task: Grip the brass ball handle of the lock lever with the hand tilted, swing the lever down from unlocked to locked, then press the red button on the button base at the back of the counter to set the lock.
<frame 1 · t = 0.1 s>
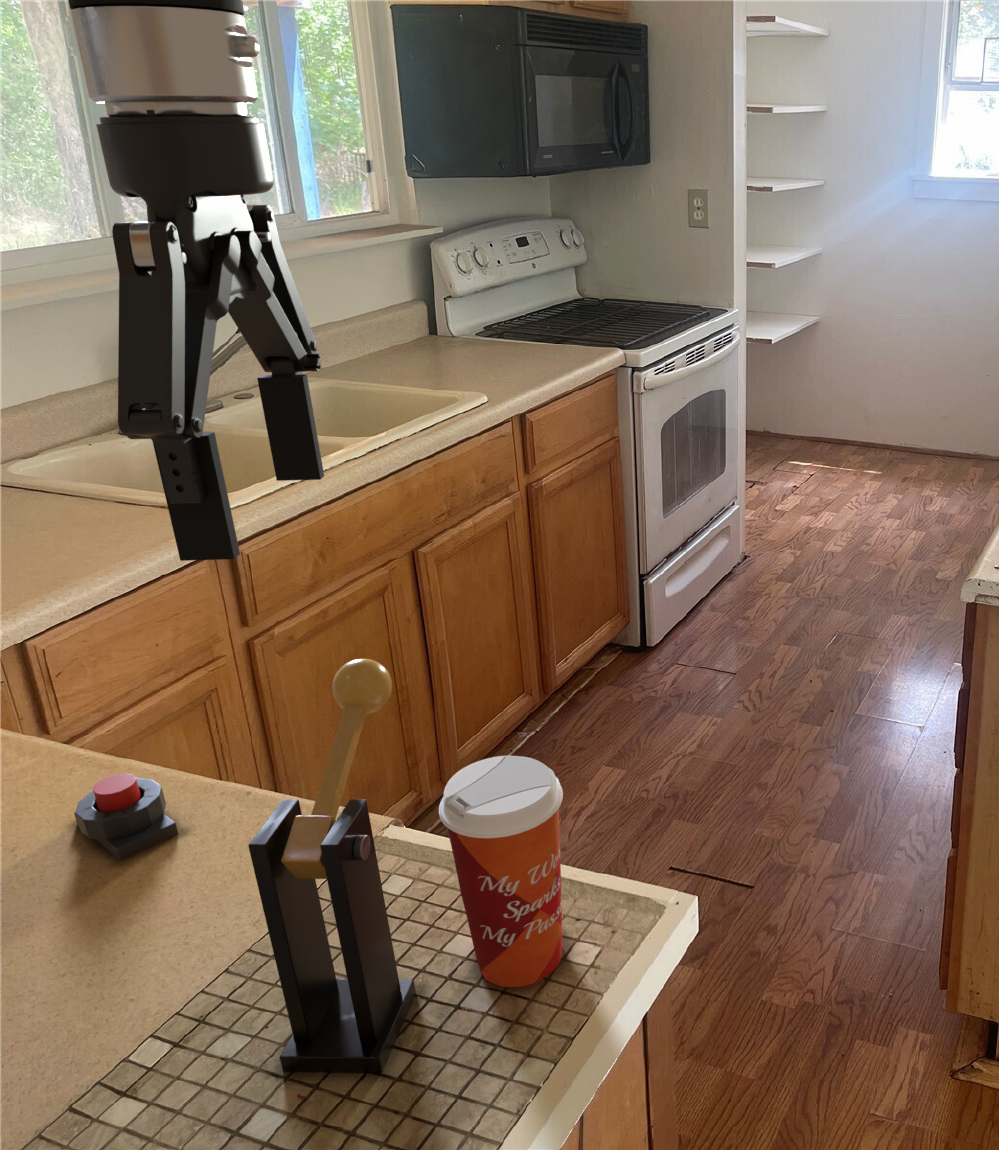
hand: (260, 514, 62), 32 cm above the countertop, tool pointing down, fingers open, 13 cm apart
lock lever: (340, 759, 65), point 17 cm above the countertop, hinge at 28.0°
paper cup: (522, 960, 73), on the countertop
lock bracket: (352, 1032, 67), on the countertop
button base: (127, 830, 87), on the countertop
set button: (117, 793, 86), point 4 cm above the countertop, slide at 0.2 cm
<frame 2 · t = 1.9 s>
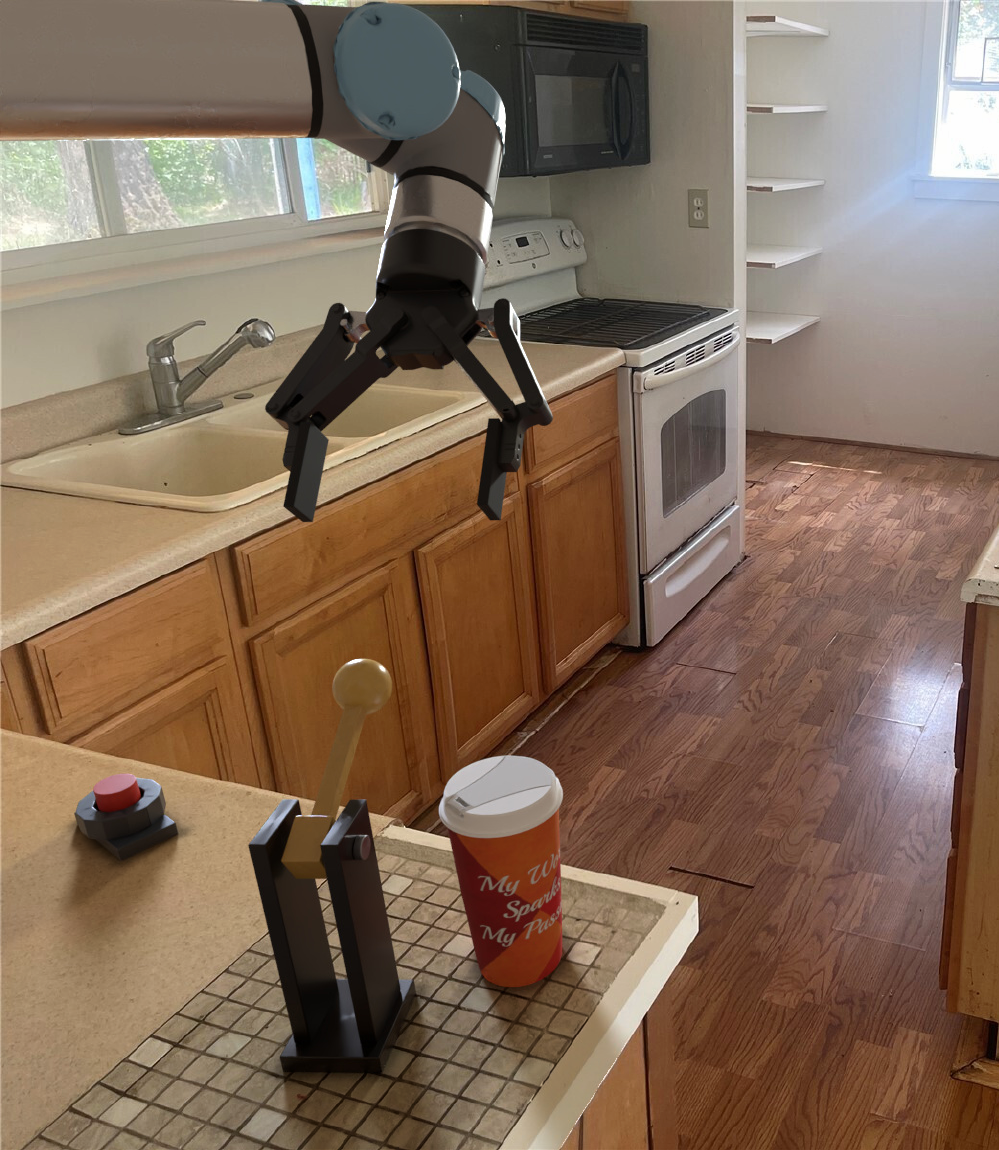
hand: (392, 514, 74), 28 cm above the countertop, tool tilted 45°, fingers open, 13 cm apart
nothing on the countertop moved.
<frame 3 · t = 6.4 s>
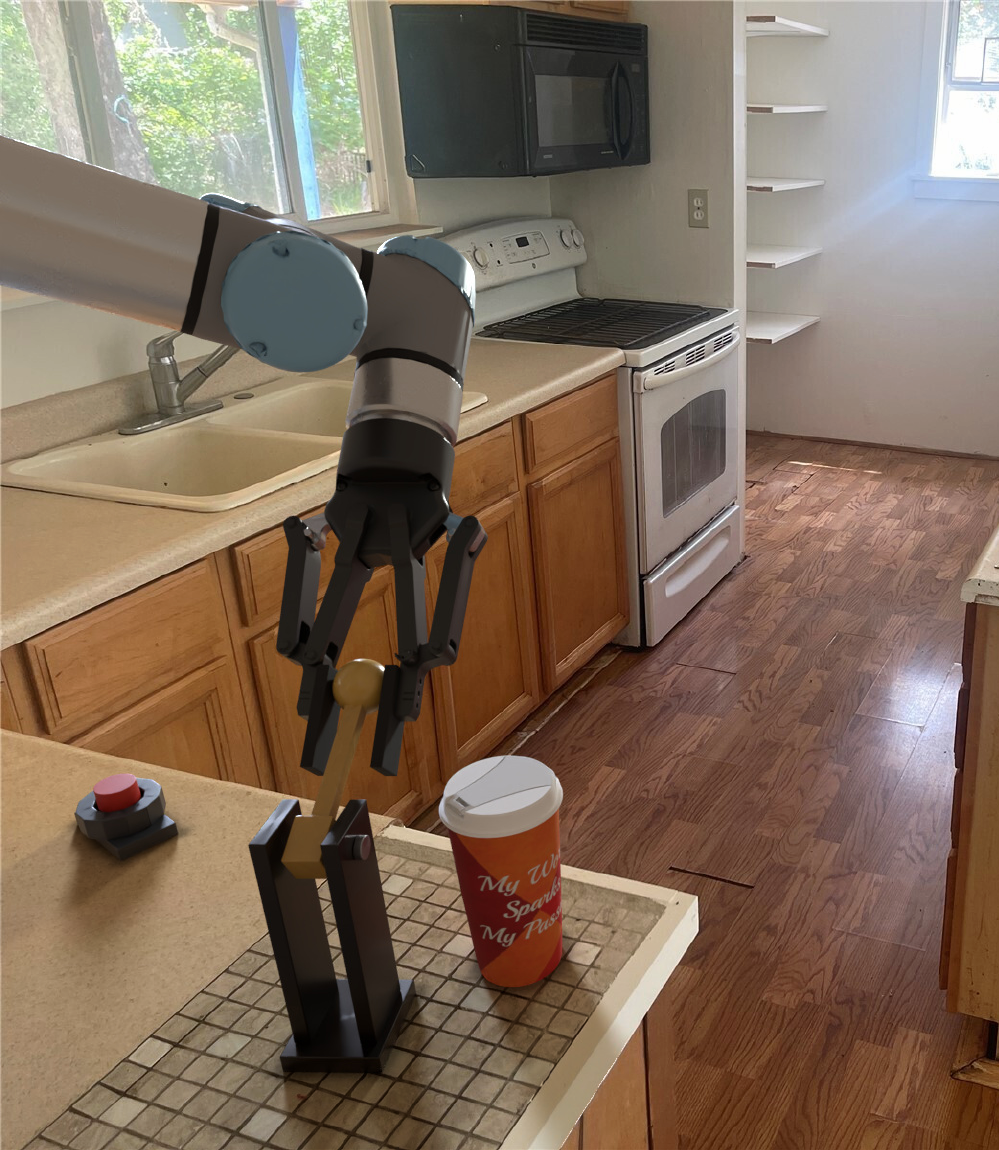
hand: (349, 770, 67), 15 cm above the countertop, tool tilted 45°, fingers closed on lock lever, 4 cm apart
lock lever: (340, 759, 65), point 17 cm above the countertop, hinge at 28.0°, touching gripper
everything else where it was.
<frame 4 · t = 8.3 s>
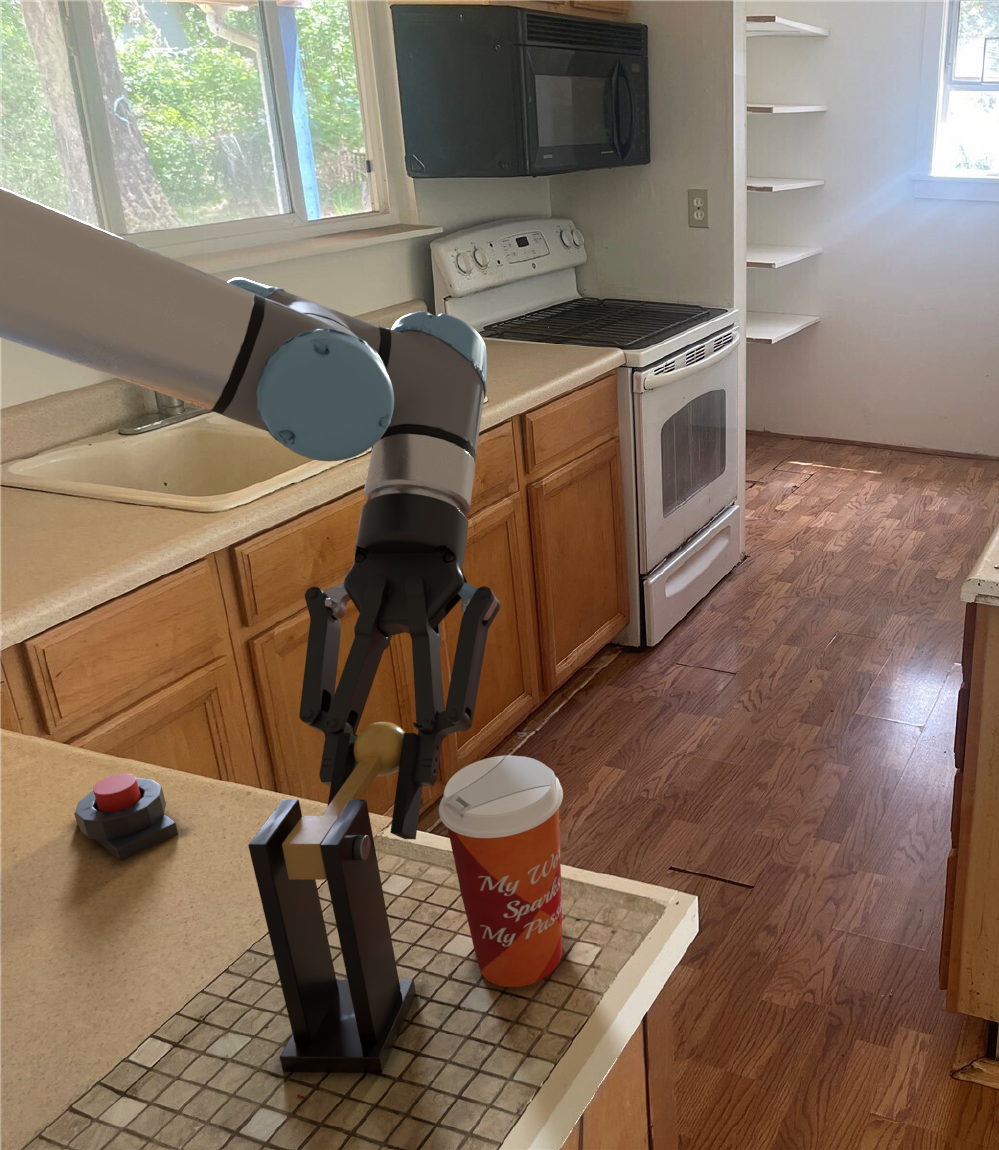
hand: (370, 835, 70), 10 cm above the countertop, tool tilted 45°, fingers closed on lock lever, 4 cm apart
lock lever: (351, 792, 67), point 14 cm above the countertop, hinge at -1.3°, touching gripper
everything else where it was.
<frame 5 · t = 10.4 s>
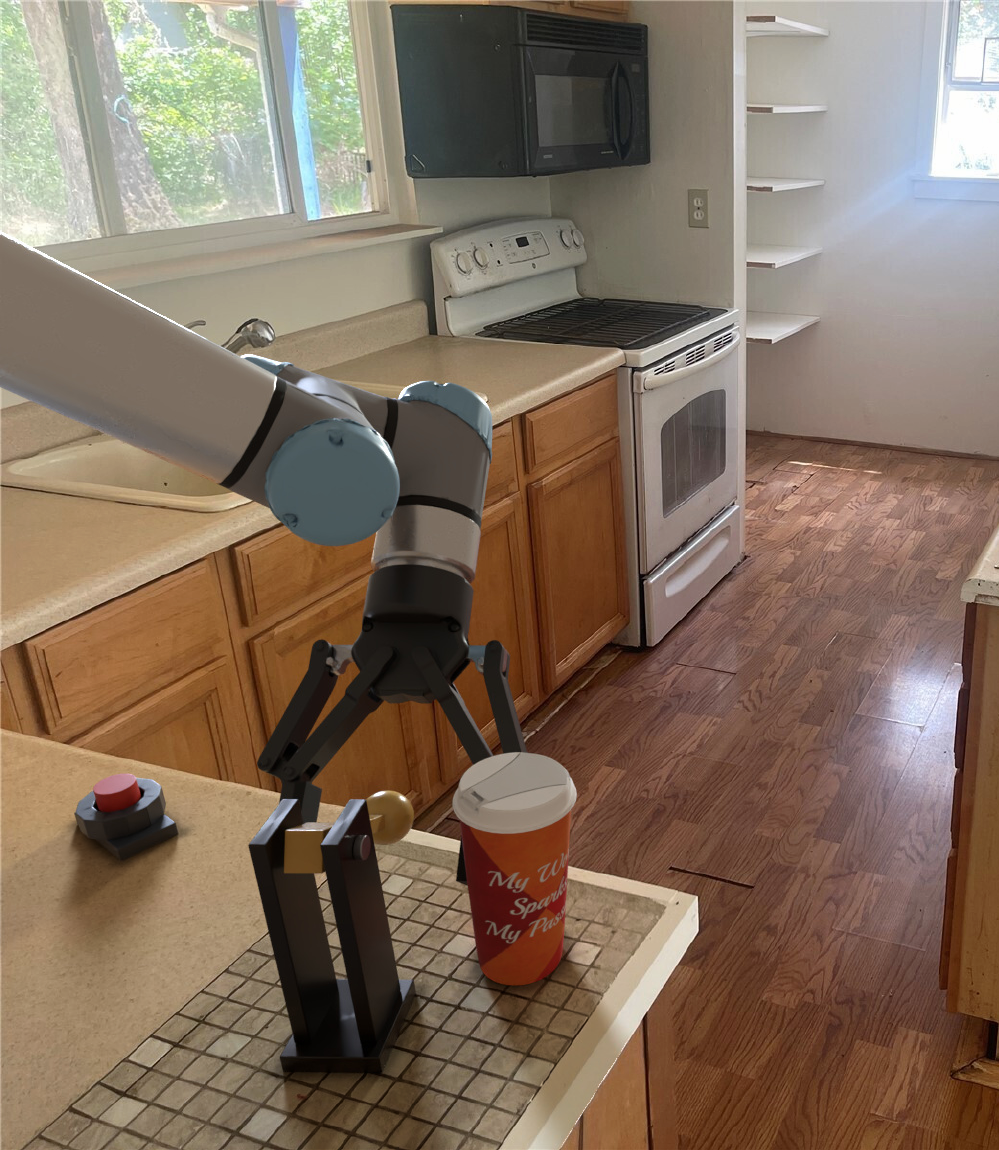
hand: (379, 883, 72), 6 cm above the countertop, tool tilted 45°, fingers open, 11 cm apart
lock lever: (354, 830, 67), point 11 cm above the countertop, hinge at -26.6°
paper cup: (521, 958, 73), on the countertop, touching gripper
everything else where it was.
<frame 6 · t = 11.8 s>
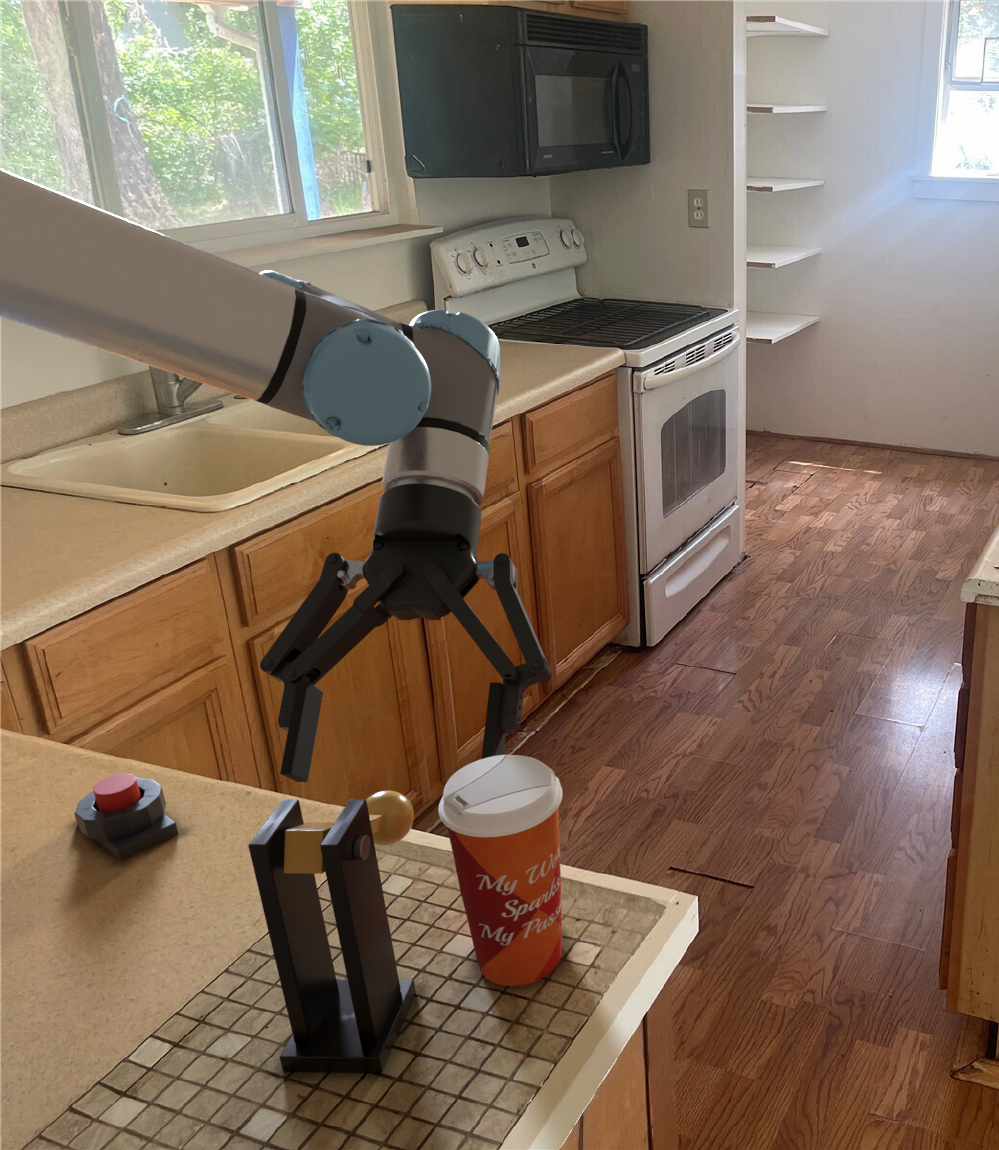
hand: (391, 779, 74), 11 cm above the countertop, tool tilted 45°, fingers open, 13 cm apart
paper cup: (522, 959, 73), on the countertop
everything else where it was.
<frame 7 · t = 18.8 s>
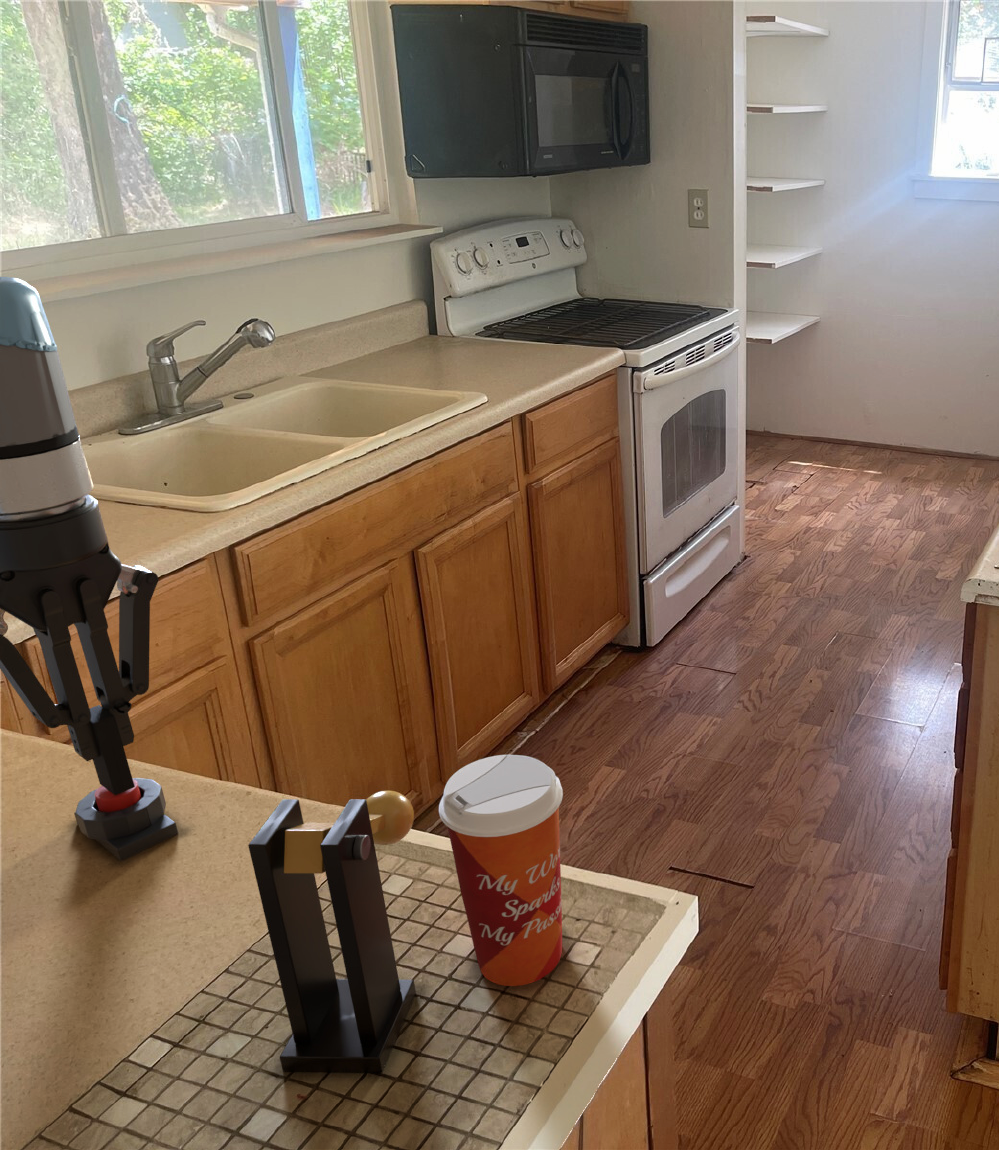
hand: (117, 785, 85), 4 cm above the countertop, tool pointing down, fingers closed
set button: (118, 797, 86), point 3 cm above the countertop, slide at -0.3 cm, touching gripper
everything else where it was.
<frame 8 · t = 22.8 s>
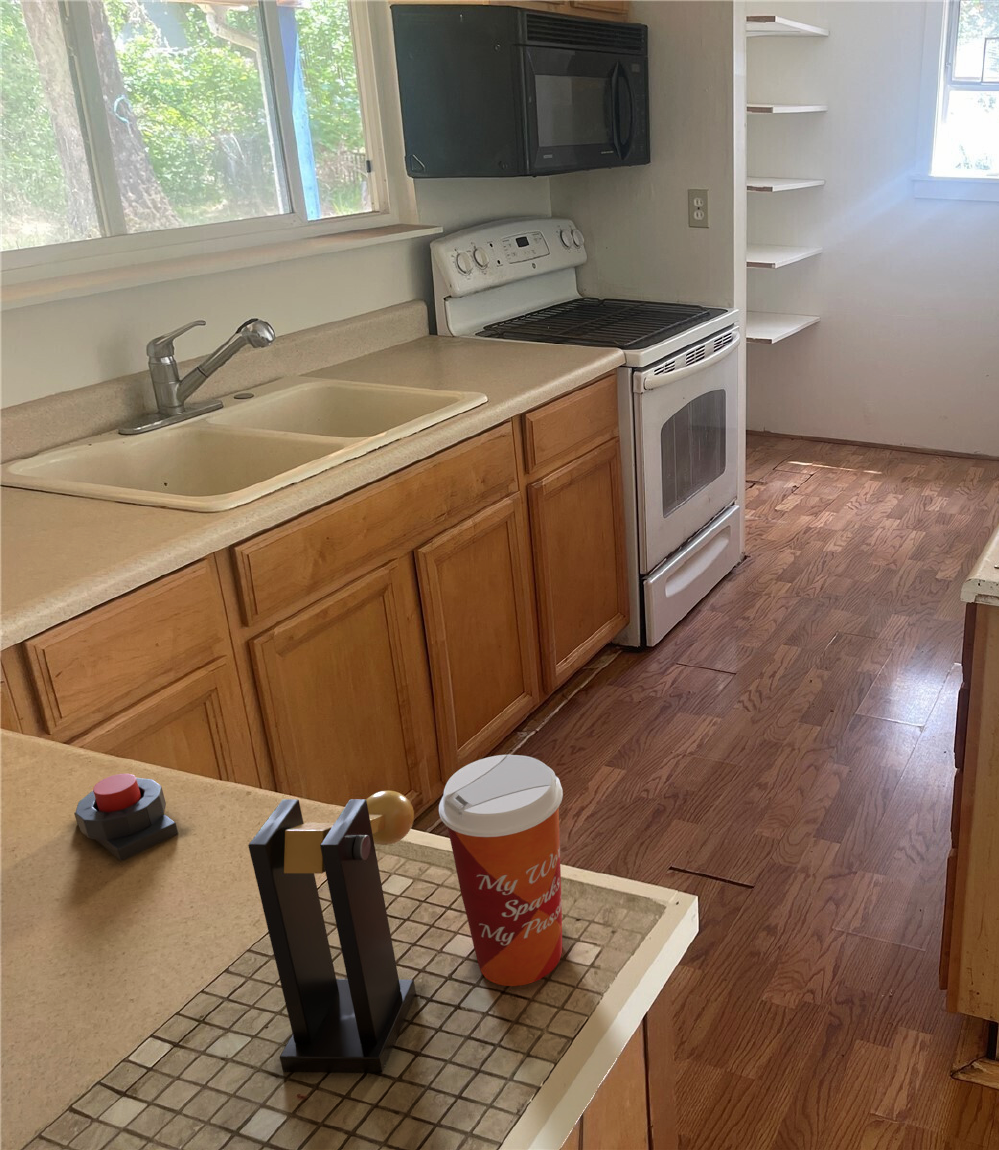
set button: (117, 793, 86), point 4 cm above the countertop, slide at 0.2 cm
everything else where it was.
at the end: lock lever at -27° (first picture: +28°); set button pushed in 1.0 cm at the most during the clip, back to 0.2 cm at the end; set button slide at 0.2 cm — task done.
